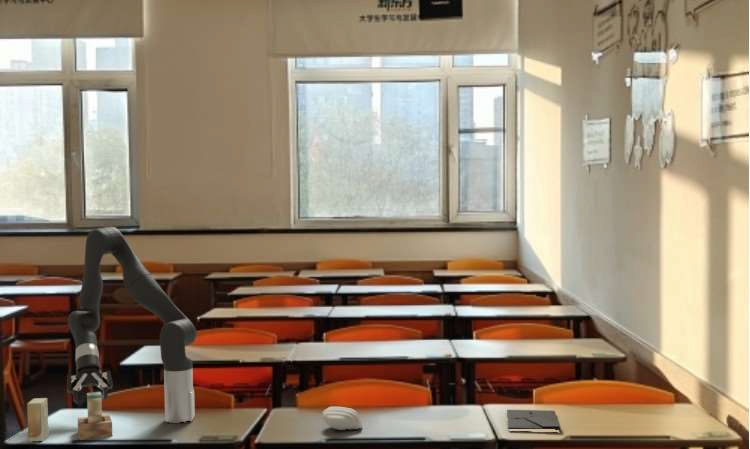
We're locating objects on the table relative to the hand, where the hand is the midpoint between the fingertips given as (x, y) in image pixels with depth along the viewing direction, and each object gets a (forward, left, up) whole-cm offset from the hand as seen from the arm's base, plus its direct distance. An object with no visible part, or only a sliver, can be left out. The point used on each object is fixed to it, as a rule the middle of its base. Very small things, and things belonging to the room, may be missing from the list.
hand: (91, 400), depth 262 cm
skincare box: (+12, +15, -8) cm, 21 cm away
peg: (-4, +11, -7) cm, 14 cm away
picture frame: (-143, +15, -9) cm, 144 cm away
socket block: (-4, +11, -8) cm, 14 cm away
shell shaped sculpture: (-82, +14, -8) cm, 83 cm away
